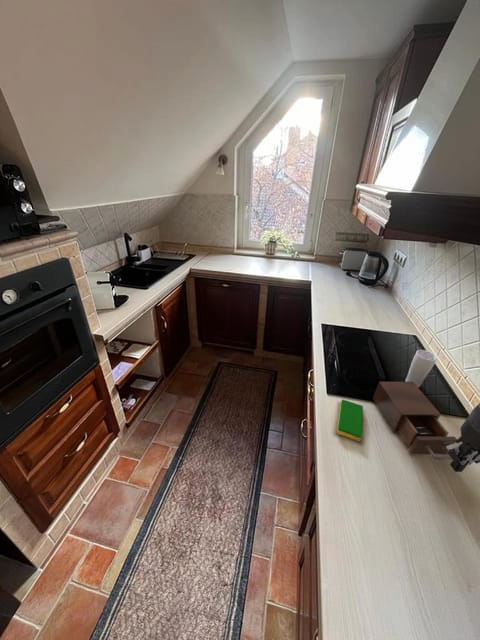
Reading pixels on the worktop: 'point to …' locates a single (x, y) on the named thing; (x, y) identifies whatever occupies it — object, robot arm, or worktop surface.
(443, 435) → the drawer
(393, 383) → the cabinet
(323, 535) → the worktop surface
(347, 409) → the dish sponge
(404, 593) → the worktop surface
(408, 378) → the drinking glass
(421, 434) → the clip
